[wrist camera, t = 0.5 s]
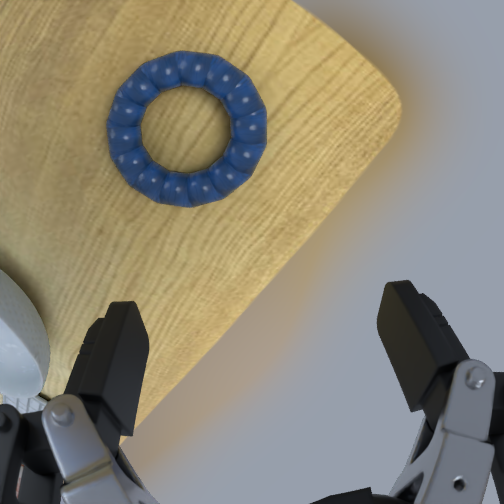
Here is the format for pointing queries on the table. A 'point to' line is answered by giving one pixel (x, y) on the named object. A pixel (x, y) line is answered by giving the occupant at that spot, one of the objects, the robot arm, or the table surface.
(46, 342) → the cereal bowl
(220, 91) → the blue teething ring
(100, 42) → the table surface
